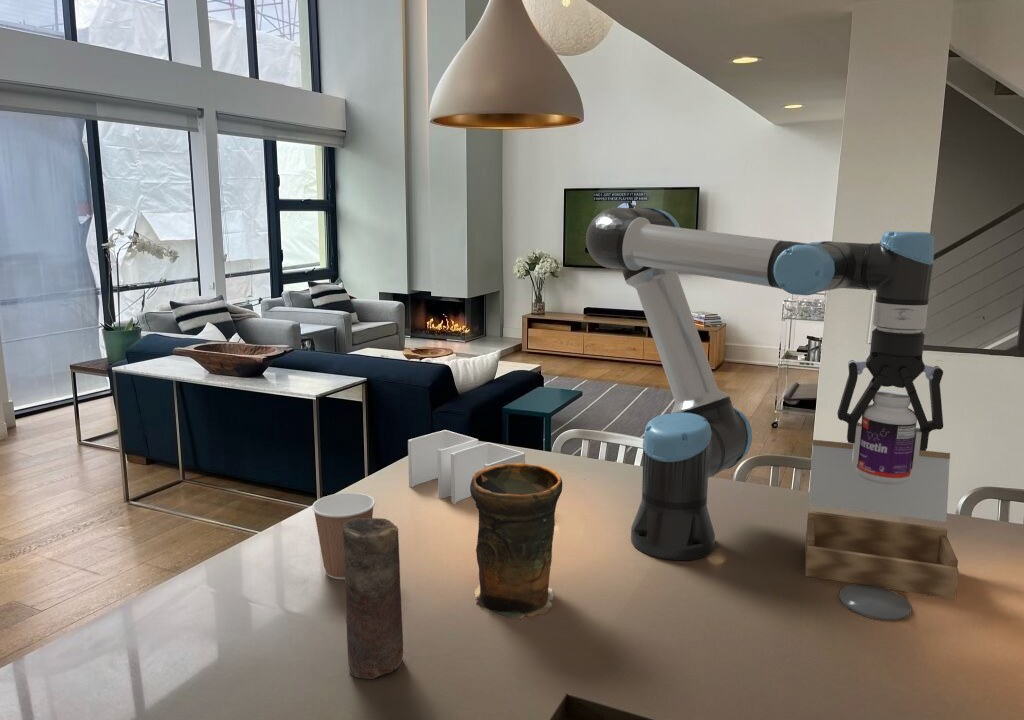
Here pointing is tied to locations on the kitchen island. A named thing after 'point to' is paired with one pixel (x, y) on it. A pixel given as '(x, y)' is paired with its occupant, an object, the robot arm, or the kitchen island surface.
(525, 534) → the vessel
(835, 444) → the lid
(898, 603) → the grey oval disc
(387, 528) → the candle
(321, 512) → the coffee cup
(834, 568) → the wooden box
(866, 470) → the pill bottle
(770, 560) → the kitchen island surface
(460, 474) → the storage container
